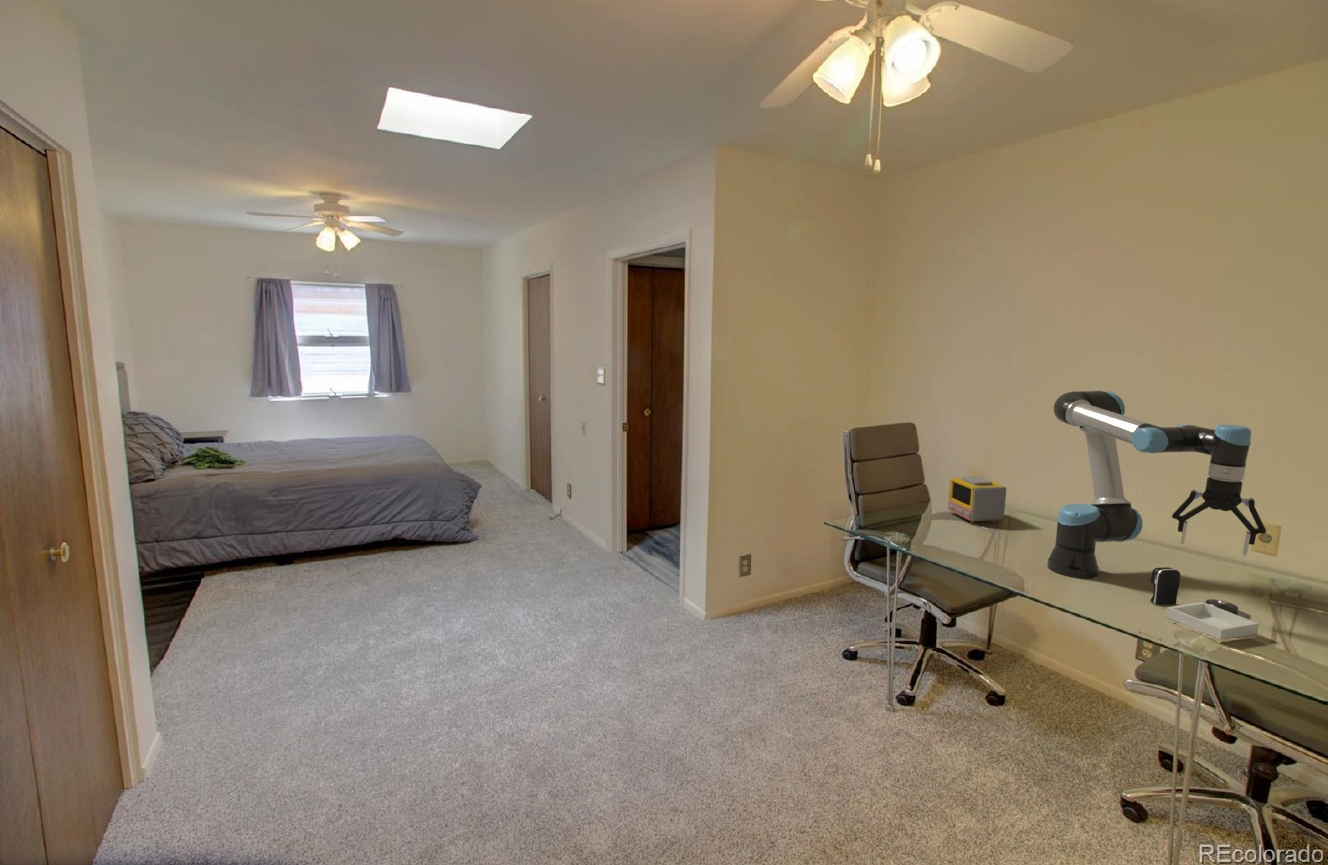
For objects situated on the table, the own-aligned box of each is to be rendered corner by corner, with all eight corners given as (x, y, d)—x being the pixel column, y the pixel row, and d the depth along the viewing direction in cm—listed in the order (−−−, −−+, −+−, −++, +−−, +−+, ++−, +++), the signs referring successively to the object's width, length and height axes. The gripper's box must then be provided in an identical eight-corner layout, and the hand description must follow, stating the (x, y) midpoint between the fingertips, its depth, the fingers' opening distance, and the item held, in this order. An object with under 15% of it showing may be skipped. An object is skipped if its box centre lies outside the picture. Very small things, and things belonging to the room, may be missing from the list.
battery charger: (1166, 599, 188) (1170, 565, 187) (1177, 605, 185) (1182, 570, 183) (1145, 600, 188) (1150, 566, 186) (1156, 605, 184) (1160, 570, 182)
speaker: (1191, 609, 182) (1193, 595, 181) (1211, 606, 184) (1213, 592, 183) (1229, 624, 172) (1232, 610, 171) (1249, 621, 174) (1252, 606, 173)
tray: (1165, 620, 175) (1166, 607, 174) (1200, 614, 178) (1202, 601, 178) (1219, 643, 162) (1221, 629, 161) (1256, 636, 165) (1258, 623, 164)
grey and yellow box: (945, 512, 282) (948, 474, 279) (976, 511, 284) (980, 473, 281) (971, 525, 263) (974, 485, 260) (1004, 524, 264) (1008, 484, 261)
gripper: (1168, 473, 178) (1157, 541, 182) (1287, 489, 161) (1273, 563, 165) (1169, 469, 183) (1159, 534, 187) (1285, 484, 166) (1271, 555, 170)
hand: (1212, 548), depth 176 cm, fingers open, 13 cm apart
